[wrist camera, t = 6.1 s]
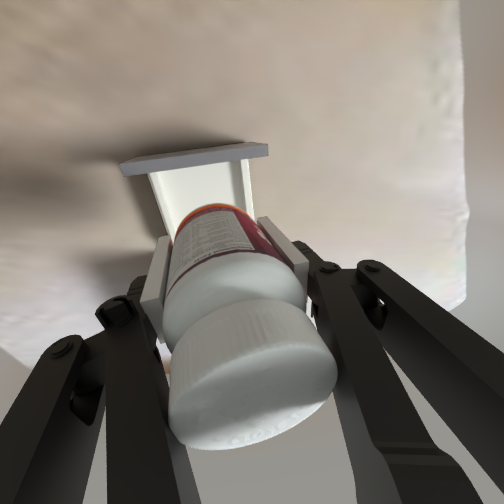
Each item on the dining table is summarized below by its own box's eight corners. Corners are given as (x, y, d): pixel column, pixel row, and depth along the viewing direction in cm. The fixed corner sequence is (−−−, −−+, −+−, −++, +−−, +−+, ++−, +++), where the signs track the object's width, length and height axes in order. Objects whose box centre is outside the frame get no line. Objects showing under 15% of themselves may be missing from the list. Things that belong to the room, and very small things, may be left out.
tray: (135, 156, 23) (118, 164, 17) (250, 141, 25) (267, 144, 20) (176, 273, 31) (174, 303, 25) (261, 254, 33) (275, 278, 28)
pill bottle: (266, 256, 18) (359, 403, 8) (197, 286, 17) (208, 477, 8) (242, 186, 14) (352, 292, 5) (156, 220, 14) (84, 413, 4)
